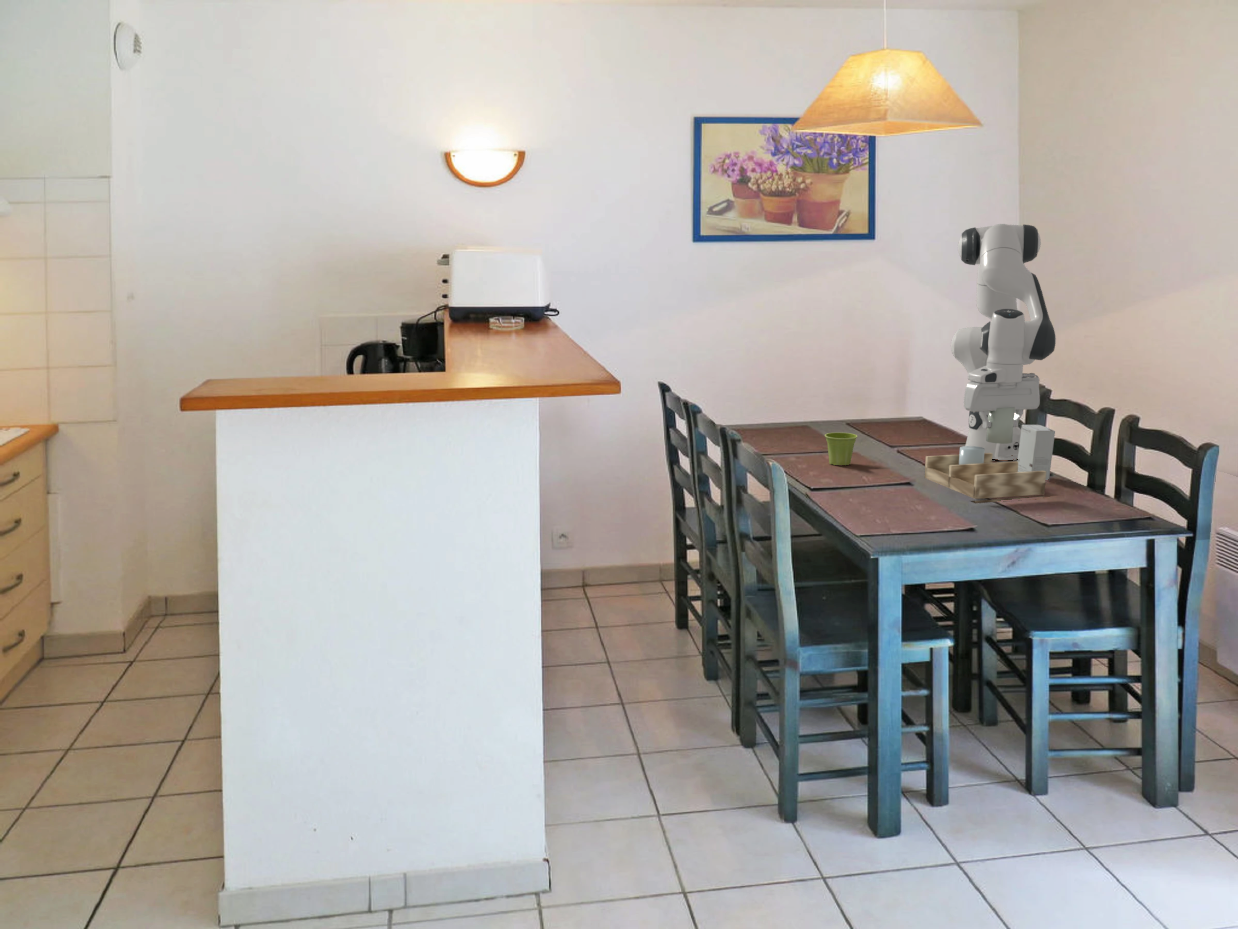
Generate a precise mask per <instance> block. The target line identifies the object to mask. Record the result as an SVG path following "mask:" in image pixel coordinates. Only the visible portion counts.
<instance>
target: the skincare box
mask: <svg viewBox="0 0 1238 929" xmlns="http://www.w3.org/2000/svg"><path fill="white" fill-rule="evenodd" d="M1020 429H1021V436H1020V444H1019V452H1018V460H1016V461H1017V462H1018V472H1029V471H1046V480H1048V479H1049V480H1050V474H1051V467H1052V459H1053V451H1054V442H1055V436H1056V431H1055V430H1054V429H1052V428H1049V427H1048V426H1044V425H1041V424H1021V427H1020Z"/></svg>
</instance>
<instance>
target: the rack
mask: <svg viewBox="0 0 1238 929" xmlns="http://www.w3.org/2000/svg"><path fill="white" fill-rule="evenodd" d="M992 456H993V453H984V463H979V464H961V465H959V454H944V455H928V456H927V455H925V464H924V465H925V466H924V479H925V480H929V481H931V482H933V483H936V484H938V485H941V486H943V487H945V488H948V489H950V490H952V491H955V492H957V493H960V494H963V495H965V496H967V497H969V498H972V499H974V500H970V502H971V503H973V504H983V503H984V504H985V503H988V504H989V503H997V502H996V501H1001V500H1012V499H1020V498H1029V497H1030V496H1036V497H1044V498H1045V490H1046V481H1045V480H1046V471H1029V472H1018V462H1017V460H1013V461H997V462H993V460H992ZM1026 496H1027V497H1026ZM1008 497H1009V498H1008ZM977 499H978V500H977ZM979 499H980V500H979Z"/></svg>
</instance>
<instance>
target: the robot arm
mask: <svg viewBox="0 0 1238 929" xmlns="http://www.w3.org/2000/svg"><path fill="white" fill-rule="evenodd" d="M1041 244H1042V240H1041V236H1040V233H1039V231H1038V228H1037V227H1036V226H1035V225H1029V224H1022V225H1019V224H1006V223H998V224H994V225H990V226H982V227H981V226H980V227H971V228H970V227H969V228H968V229H965V230H963V232H962V233H961V235H960V237H959V240H958V244H957V251H958V256H959V257H960V259H961V262H963V263H964V264H965V265H969V266H976V265H978V266H977V273H976V300H975V301H976V309H977V310H978V311H979V313H980V314H981V315H983V316H984V317H987V318H988V319H990V321H988V322H986V323H985V324H984V325H983V326H982V327H981V326H971V327H964V328H959V329H958V330H956V332H955V333H954V334H953V336H952V338H951V341H950V351H951V354H952V355H953V357H954V358H955V359H956V361H958V362H959V363H960V364H962V366H963V367H964V369H965V371H966V372H967V379H968V381H969V382H967V384H966V386H965V389H964V395H963V407H964V409H965V410H966V411H969V413H968V433H967V438H966V442H965V445H964V446H977V447H982V448H984V449H985V453H993V456H992V459H998V460H1013V459H1014V460H1013V461H1017V460H1016V458H1017V459H1018V452H1019V444H1020V436H1021V427H1019V421H1020V420H1021V418H1022V417H1023V414H1024V410H1038V407H1039V406H1040V403H1041V402H1040V397H1041V395H1040V382H1041V381H1040V377H1039V376H1038V375H1037V374H1036V373H1034V372H1029V373H1028V372H1027V373H1024V372H1023V371H1024V369H1023V368H1024V366H1025V365H1031V364H1032V363H1034V362H1035V361H1043V360H1045V359H1046V358H1048V357H1049V356H1050V355H1051V354H1053V352H1054V351H1055V348H1056V343H1057V336H1056V331H1055V329H1054V325H1053V324H1052V321H1051V319H1050V315H1049V311H1048V309H1047V306H1046V305H1047V304H1046V302H1045V297H1044V294H1043V290H1042V288H1041V285H1040V281H1039V279H1038V277H1037V275H1036V274H1034V273H1033V272H1031V271H1030V270H1029V269H1028V268H1027V266H1025V263H1028V262H1032V261H1034V260H1035V259H1036V258H1037V257H1038V253H1039V252H1040V249H1041ZM1017 300H1020V301H1022V302H1023V303H1024V305H1025V306H1026V308H1027V312H1028V317H1029V318H1030V320H1026V319H1025V314H1024V312H1022V311H1021V310H1019V309H1018V306H1017V304H1018V303H1017ZM997 408H1015V413H1014V426H1013V439H1012V443H1008V444H999V443H991V442H987V441H986V435H987V428H991V424H992V422H991V421H989V420H988V415H989V411H996V409H997ZM1011 455H1013V456H1011Z"/></svg>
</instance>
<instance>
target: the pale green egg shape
mask: <svg viewBox="0 0 1238 929" xmlns="http://www.w3.org/2000/svg"><path fill="white" fill-rule="evenodd" d="M1014 413H1015V408H997V409H996V411H989V415H988V420H989V421H991V422H992V424H991V428H987V435H986V441H987V442H991V443H999V444H1008V443H1012V439H1013V426H1014Z"/></svg>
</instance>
